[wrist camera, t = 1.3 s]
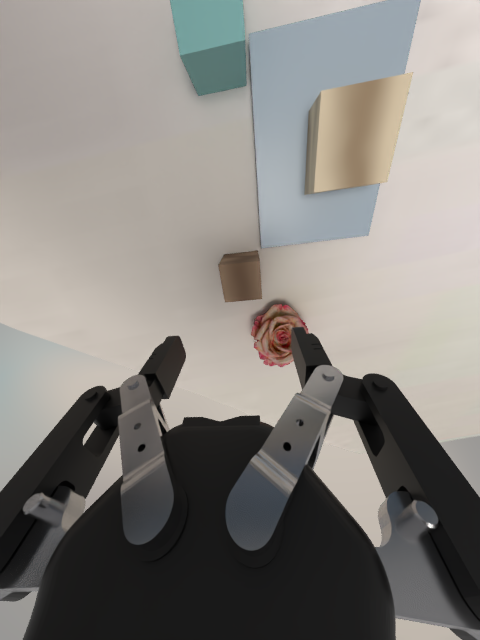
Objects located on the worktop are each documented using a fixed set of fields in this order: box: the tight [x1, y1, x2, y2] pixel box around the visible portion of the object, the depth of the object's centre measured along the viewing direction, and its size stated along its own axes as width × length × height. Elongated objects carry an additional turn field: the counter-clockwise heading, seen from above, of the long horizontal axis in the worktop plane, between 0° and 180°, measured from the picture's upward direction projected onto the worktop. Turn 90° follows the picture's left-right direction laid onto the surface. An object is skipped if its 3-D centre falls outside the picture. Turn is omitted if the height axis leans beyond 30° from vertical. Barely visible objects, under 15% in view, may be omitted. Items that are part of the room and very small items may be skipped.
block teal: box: [170, 0, 246, 96], centre depth 15 cm, size 5×5×6 cm
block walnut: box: [218, 251, 262, 302], centre depth 26 cm, size 5×5×6 cm
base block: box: [304, 72, 413, 195], centre depth 18 cm, size 7×7×4 cm
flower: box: [251, 304, 309, 367], centre depth 31 cm, size 10×9×8 cm
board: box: [249, 0, 421, 248], centre depth 21 cm, size 14×18×1 cm
